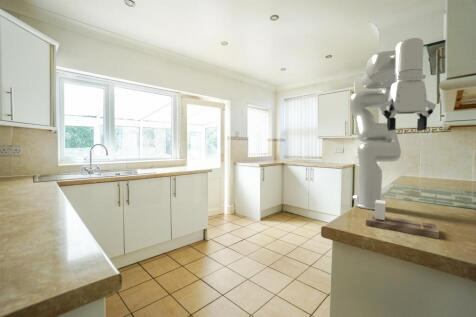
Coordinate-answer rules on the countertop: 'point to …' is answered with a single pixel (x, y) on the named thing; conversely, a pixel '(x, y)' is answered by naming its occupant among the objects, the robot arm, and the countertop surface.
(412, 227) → the fader board
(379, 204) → the fader tab
